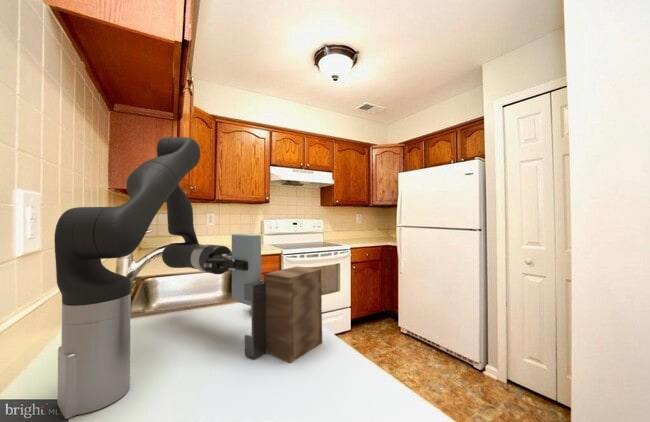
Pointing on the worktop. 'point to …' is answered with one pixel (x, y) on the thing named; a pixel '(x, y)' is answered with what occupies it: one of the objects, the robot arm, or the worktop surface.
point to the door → (248, 251)
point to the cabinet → (293, 312)
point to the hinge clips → (256, 320)
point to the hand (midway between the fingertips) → (252, 264)
